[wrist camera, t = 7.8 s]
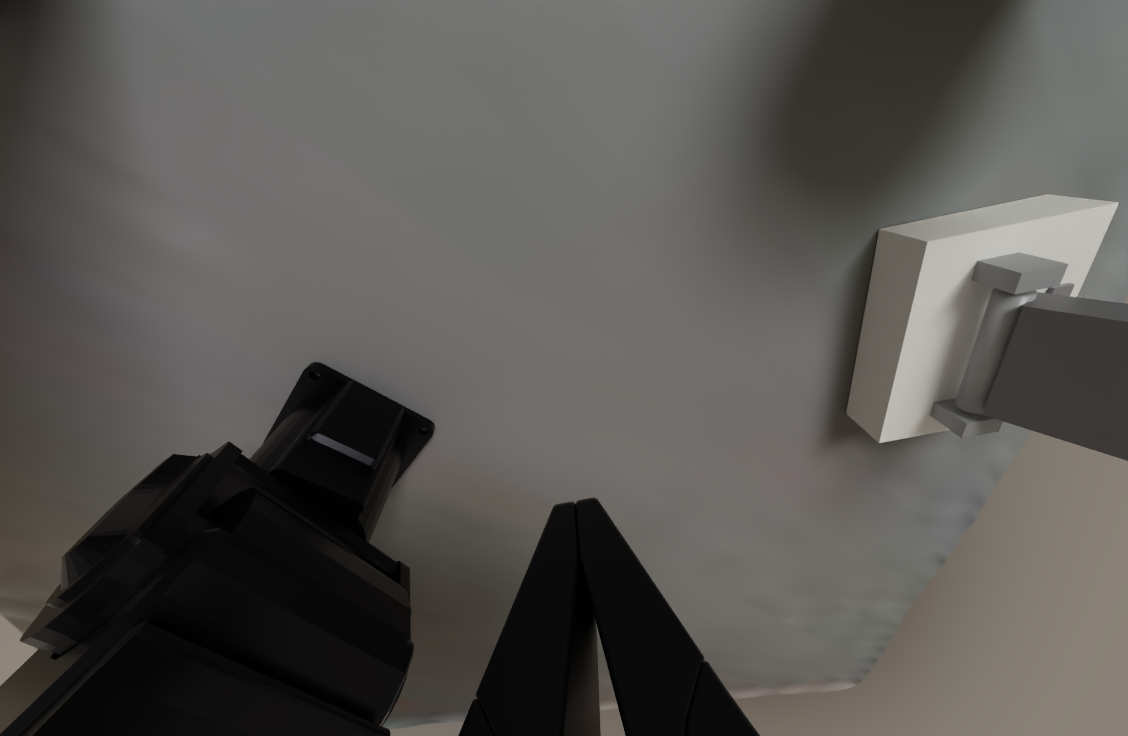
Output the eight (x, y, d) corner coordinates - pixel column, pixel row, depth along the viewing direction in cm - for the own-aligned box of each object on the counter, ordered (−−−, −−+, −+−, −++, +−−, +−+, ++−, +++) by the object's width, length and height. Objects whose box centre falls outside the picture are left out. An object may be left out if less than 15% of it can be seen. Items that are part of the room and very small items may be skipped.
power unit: (845, 413, 23) (905, 467, 19) (879, 228, 18) (968, 252, 14) (976, 389, 22) (1062, 438, 19) (1046, 194, 18) (1181, 209, 14)
